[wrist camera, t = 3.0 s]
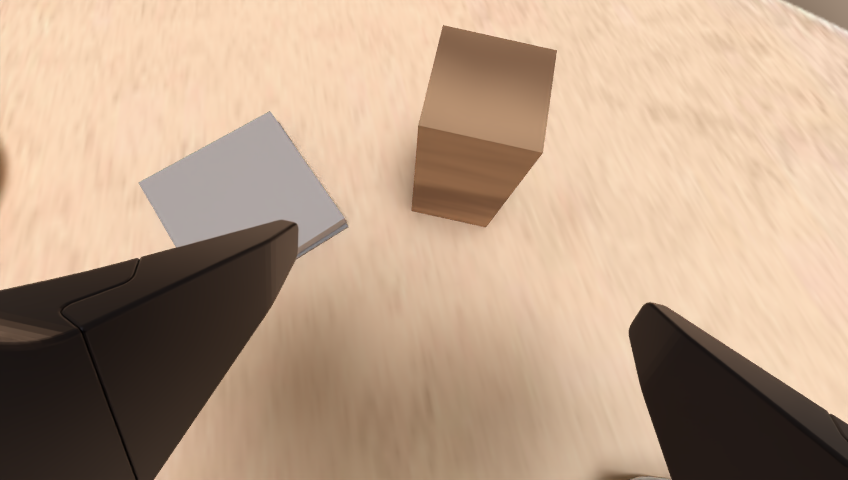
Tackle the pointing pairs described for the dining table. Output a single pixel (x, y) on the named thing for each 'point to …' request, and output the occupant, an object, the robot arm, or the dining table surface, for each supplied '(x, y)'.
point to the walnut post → (480, 124)
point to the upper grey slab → (242, 188)
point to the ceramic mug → (649, 478)
